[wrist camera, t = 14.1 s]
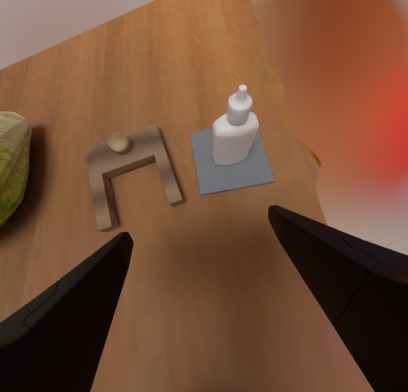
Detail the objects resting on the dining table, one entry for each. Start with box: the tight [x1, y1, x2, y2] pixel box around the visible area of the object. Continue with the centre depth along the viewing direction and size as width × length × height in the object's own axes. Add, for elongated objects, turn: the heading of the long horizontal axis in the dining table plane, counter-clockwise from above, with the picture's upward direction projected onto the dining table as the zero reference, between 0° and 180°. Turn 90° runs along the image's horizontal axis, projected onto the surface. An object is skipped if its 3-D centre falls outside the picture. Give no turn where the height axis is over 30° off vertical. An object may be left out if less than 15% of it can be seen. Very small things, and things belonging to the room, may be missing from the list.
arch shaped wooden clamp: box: [85, 123, 185, 232], centre depth 24 cm, size 15×13×4 cm
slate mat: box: [190, 129, 275, 195], centre depth 25 cm, size 12×12×1 cm
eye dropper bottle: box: [212, 85, 259, 165], centre depth 19 cm, size 4×6×12 cm
